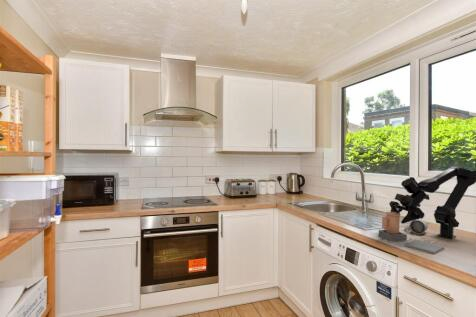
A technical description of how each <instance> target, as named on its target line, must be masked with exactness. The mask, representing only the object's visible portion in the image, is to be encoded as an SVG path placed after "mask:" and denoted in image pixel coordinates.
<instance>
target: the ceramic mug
mask: <svg viewBox="0 0 476 317" xmlns="http://www.w3.org/2000/svg"><path fill="white" fill-rule="evenodd" d="M428 228H429V225H428V223H427V222H426V220H424V219H423V218H422V219H420V218H419V219H416V220H413V221H409V224H408V226H405V227H404V230H405V231H411V232H412V233H413V234H416V235H422V234H424V233H425V232H426V231H428Z"/></svg>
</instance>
